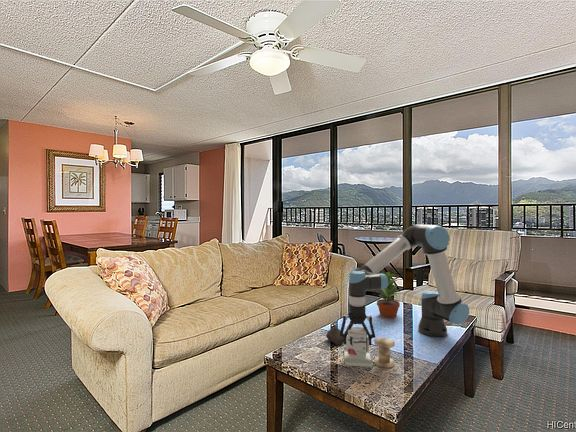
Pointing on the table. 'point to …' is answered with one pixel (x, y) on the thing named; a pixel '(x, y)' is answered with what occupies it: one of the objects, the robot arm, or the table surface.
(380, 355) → the beige door knob
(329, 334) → the stone
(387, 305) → the potted plant
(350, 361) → the notch board
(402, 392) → the table surface
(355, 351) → the ink box
